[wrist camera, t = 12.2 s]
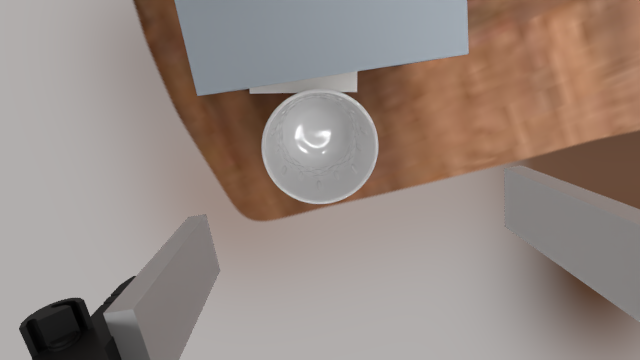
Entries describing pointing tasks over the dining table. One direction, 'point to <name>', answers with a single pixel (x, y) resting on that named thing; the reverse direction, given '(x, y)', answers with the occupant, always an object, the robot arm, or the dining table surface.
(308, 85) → the white l-shaped block
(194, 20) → the bridge
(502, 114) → the dining table surface
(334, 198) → the white cup
